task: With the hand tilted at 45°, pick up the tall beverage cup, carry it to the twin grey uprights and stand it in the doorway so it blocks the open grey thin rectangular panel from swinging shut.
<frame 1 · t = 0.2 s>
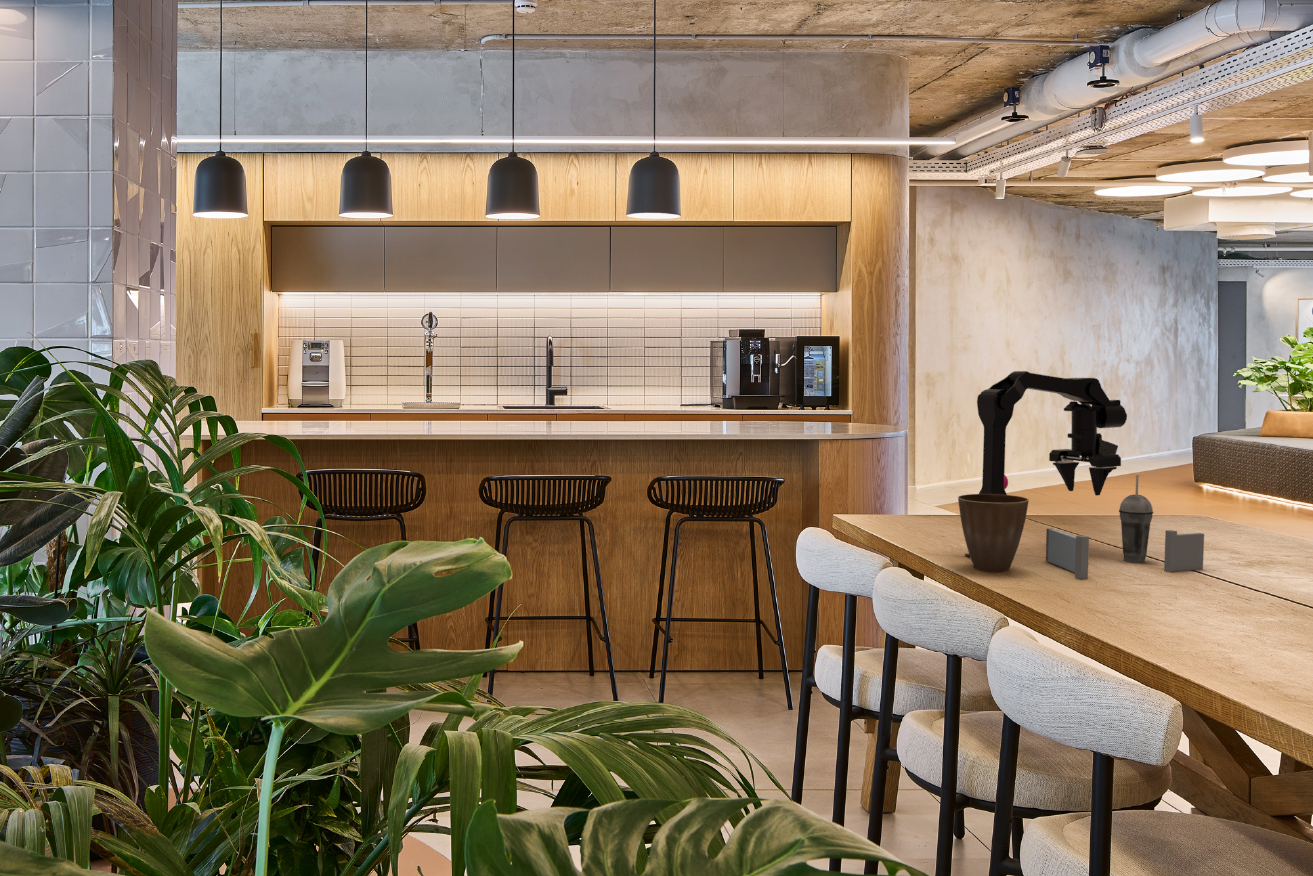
hand: (1084, 493, 247), 14 cm above the table, tool pointing down, fingers open, 9 cm apart
grey thin rectangular panel: (1066, 551, 226), point 4 cm above the table, hinge at 75.0°
pepper mill: (994, 544, 260), on the table
twin grey uprights: (1087, 577, 217), on the table
beverage cup: (1134, 561, 236), on the table
plant pot: (991, 570, 226), on the table
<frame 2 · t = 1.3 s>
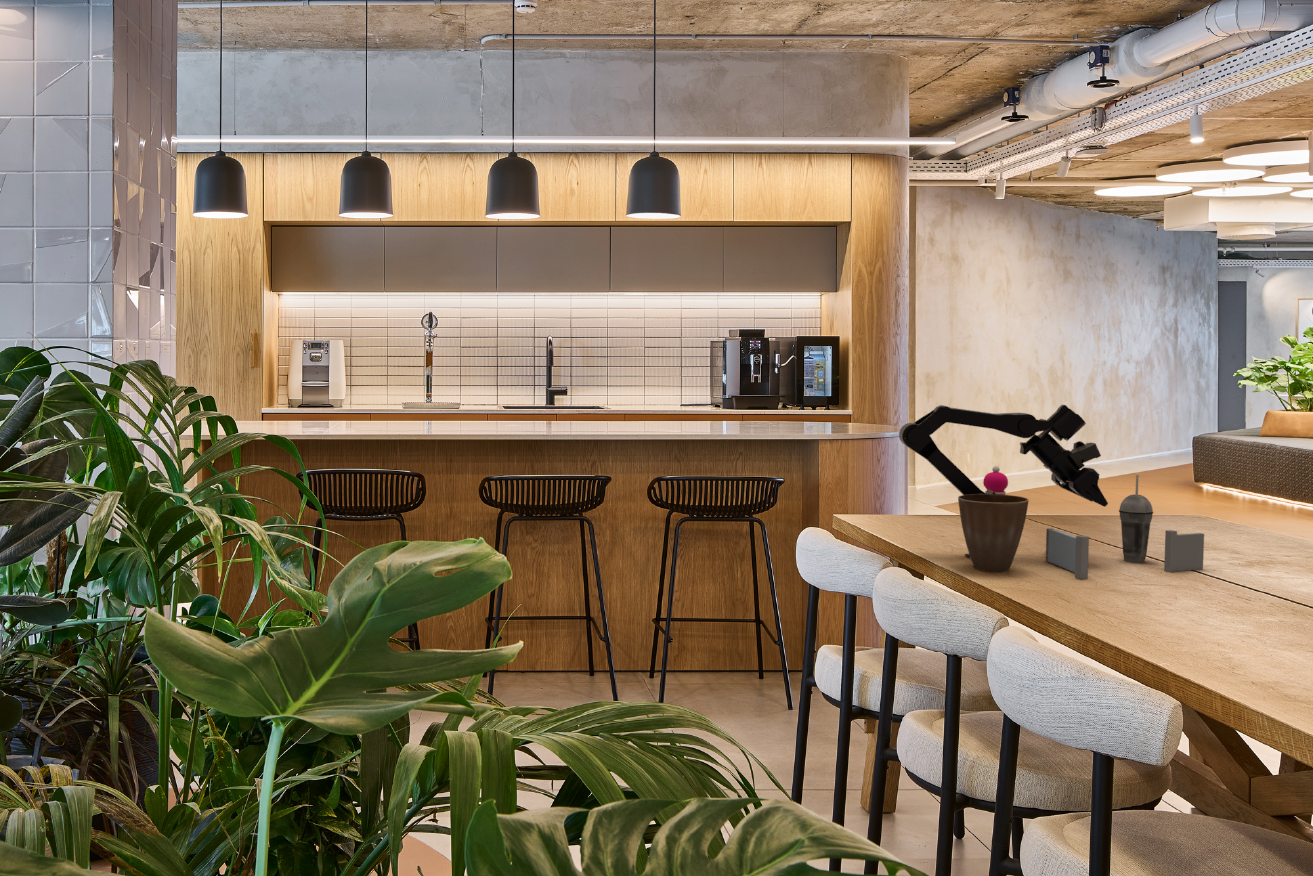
hand: (1099, 502, 236), 14 cm above the table, tool tilted 45°, fingers open, 9 cm apart
nothing on the table moved.
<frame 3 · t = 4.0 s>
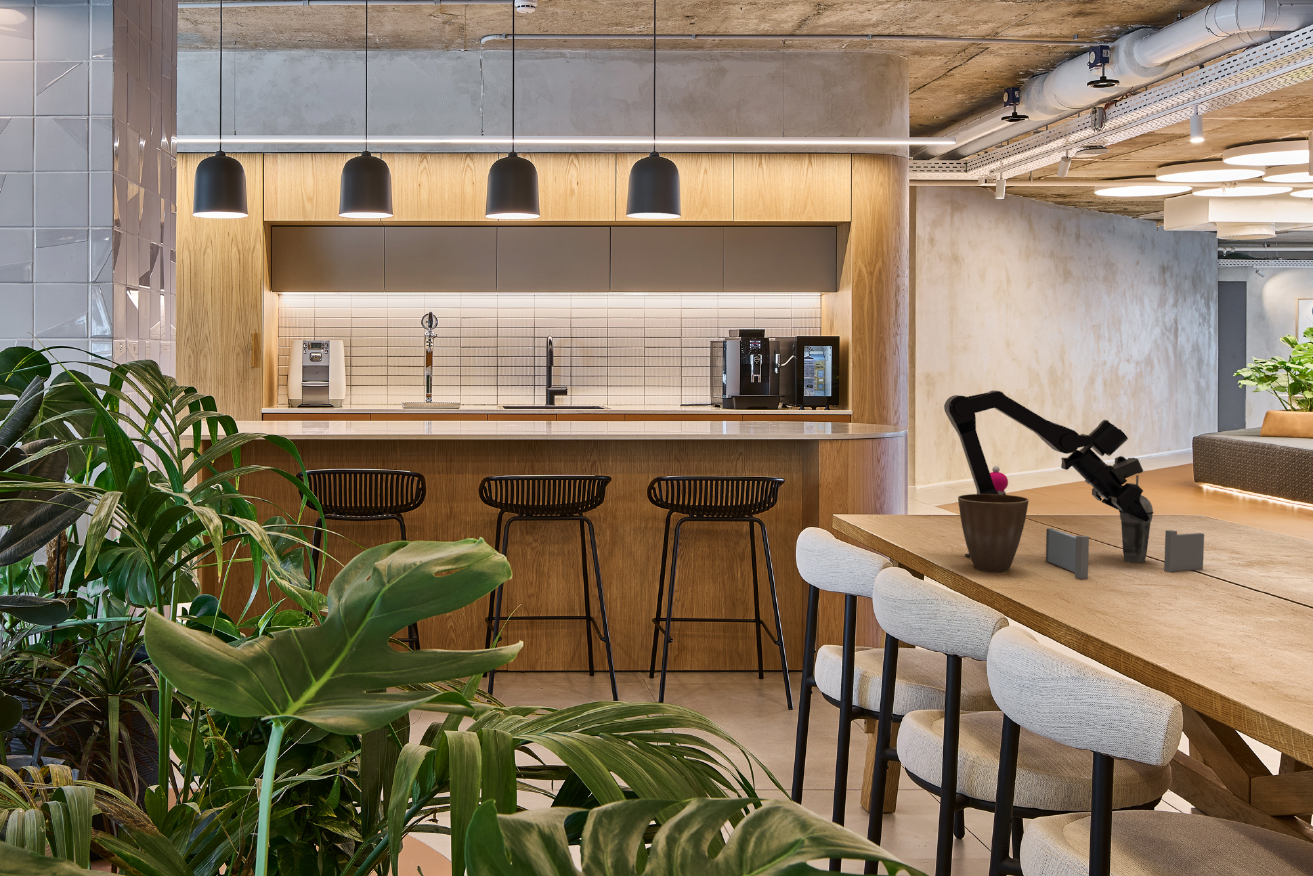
hand: (1142, 518, 235), 10 cm above the table, tool tilted 45°, fingers closed on beverage cup, 7 cm apart
beverage cup: (1134, 561, 236), on the table, touching gripper
everything else where it was.
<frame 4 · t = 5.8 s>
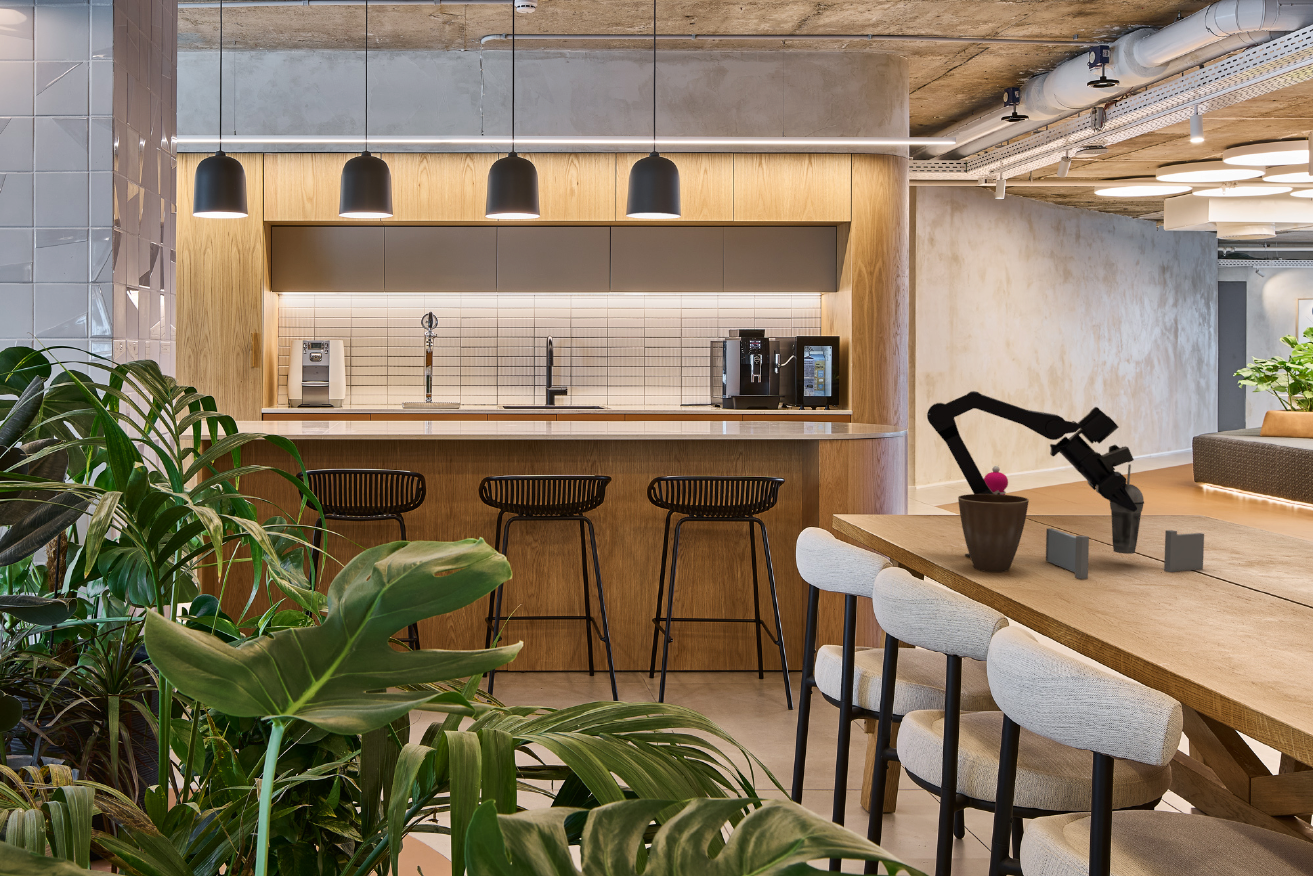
hand: (1132, 508, 230), 13 cm above the table, tool tilted 45°, fingers closed on beverage cup, 7 cm apart
beverage cup: (1124, 552, 231), point 3 cm above the table, touching gripper
everything else where it was.
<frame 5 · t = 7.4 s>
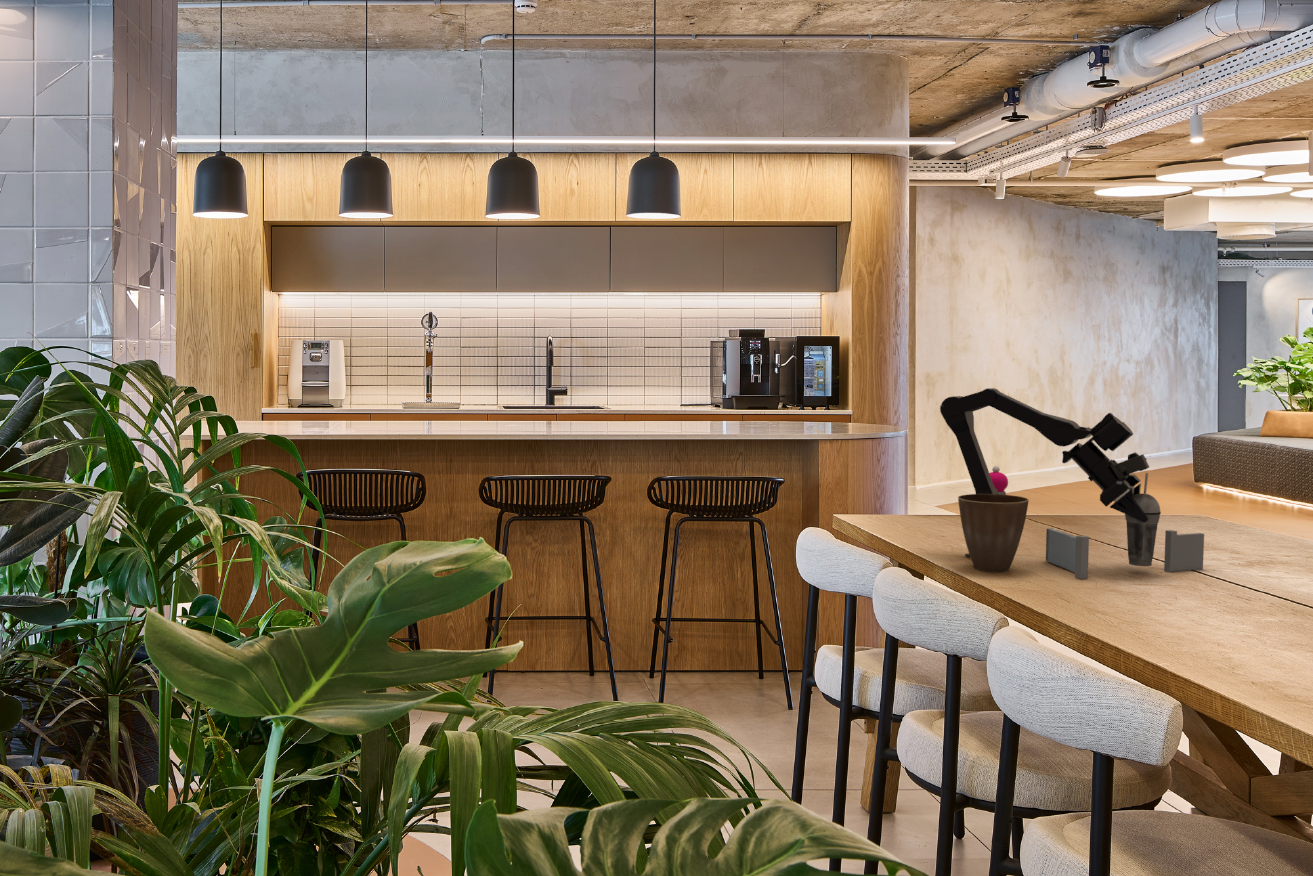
hand: (1149, 519, 220), 12 cm above the table, tool tilted 45°, fingers closed on beverage cup, 7 cm apart
beverage cup: (1140, 565, 221), point 2 cm above the table, touching gripper
everything else where it was.
when the fingers open (11 cm above the table, at t = 8.1 s): beverage cup drops 1 cm, on the table.
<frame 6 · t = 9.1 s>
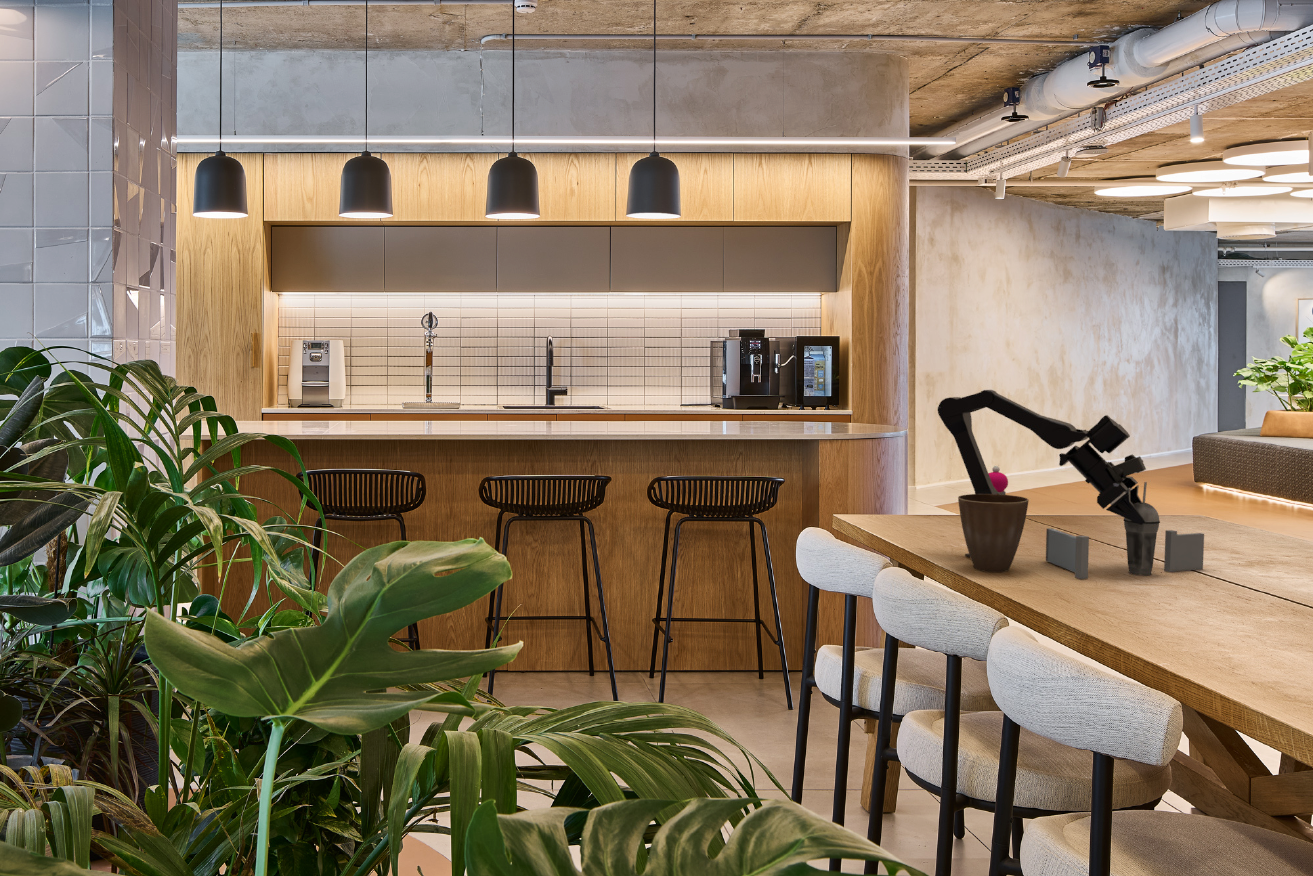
hand: (1146, 520, 220), 12 cm above the table, tool tilted 45°, fingers open, 9 cm apart
beverage cup: (1139, 574, 222), on the table
everything else where it was.
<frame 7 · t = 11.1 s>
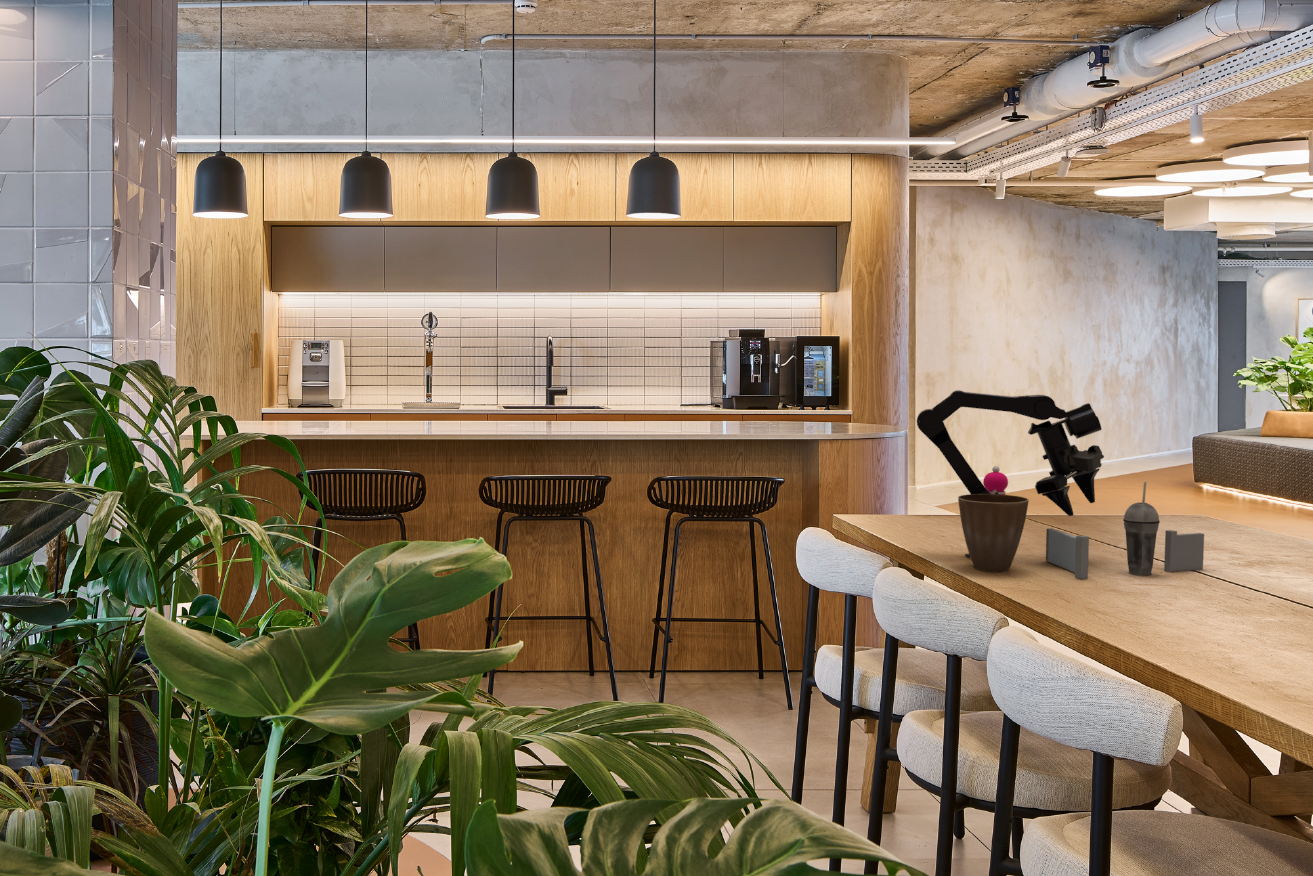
hand: (1082, 509, 234), 12 cm above the table, tool tilted 20°, fingers open, 9 cm apart
nothing on the table moved.
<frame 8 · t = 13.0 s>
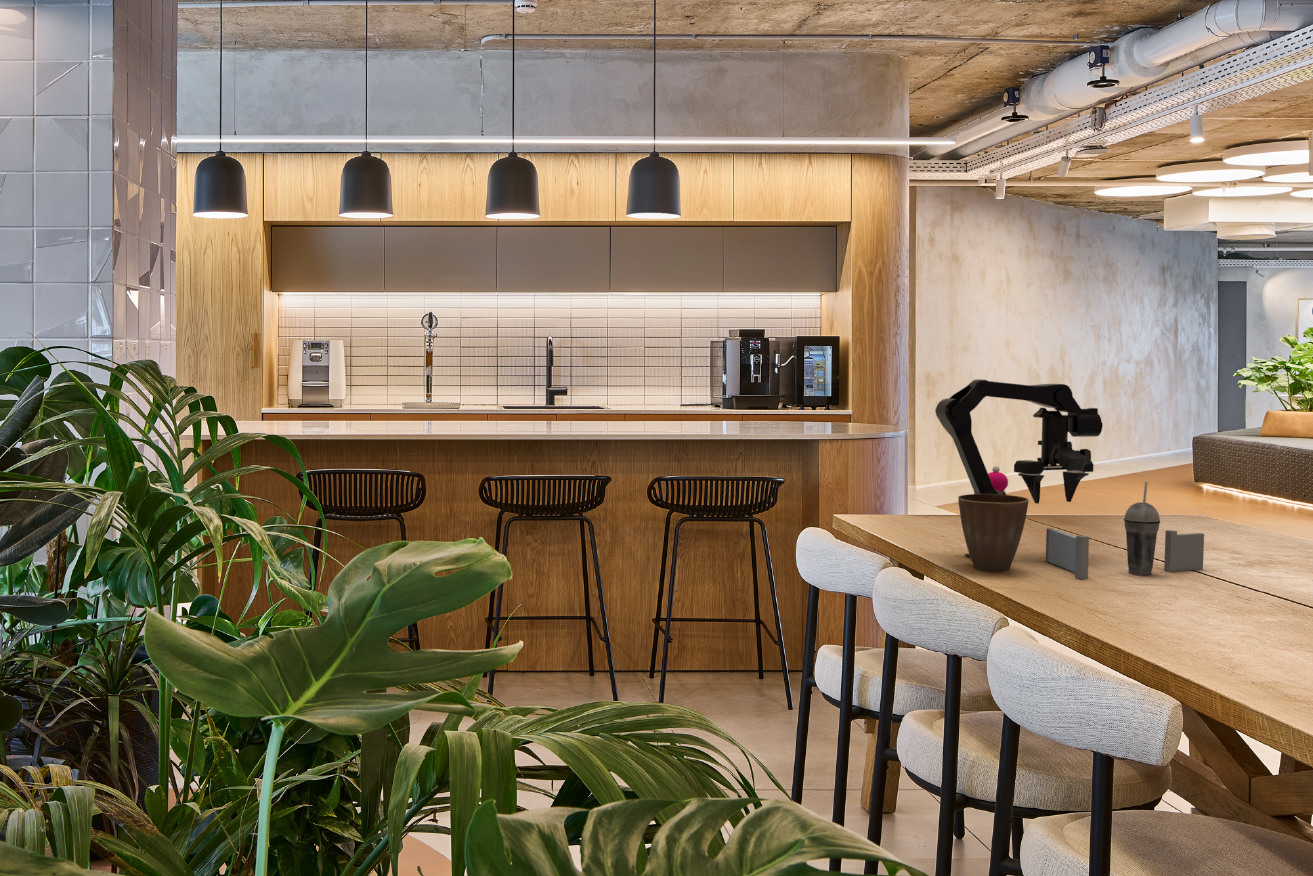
hand: (1052, 502, 240), 13 cm above the table, tool pointing down, fingers open, 9 cm apart
nothing on the table moved.
at the end: beverage cup inside the target area (0.3 cm from its centre), on the table; beverage cup tilted 0°; grey thin rectangular panel at +75° (first picture: +75°) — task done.
